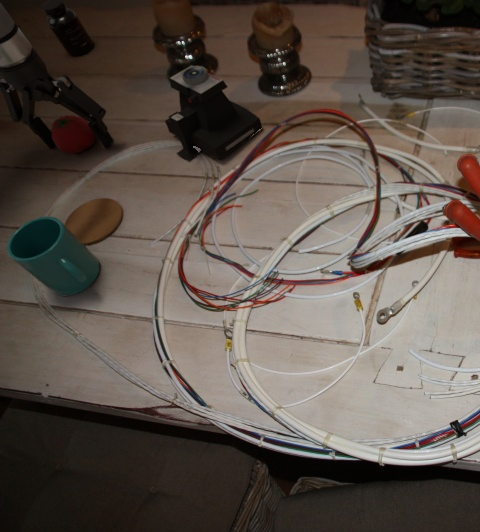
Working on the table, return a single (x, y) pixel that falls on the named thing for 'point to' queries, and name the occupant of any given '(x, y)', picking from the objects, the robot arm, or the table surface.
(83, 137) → the tomato
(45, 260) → the cup
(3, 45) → the robot arm
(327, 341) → the table surface
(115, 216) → the coaster
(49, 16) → the supplement bottle
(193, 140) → the camera
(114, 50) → the table surface
